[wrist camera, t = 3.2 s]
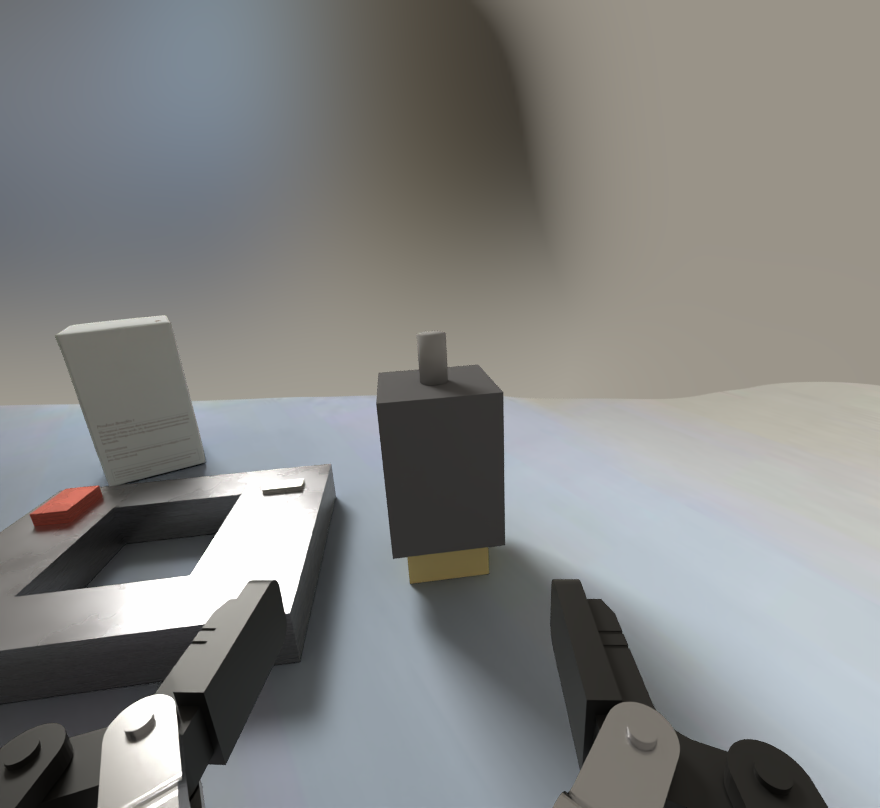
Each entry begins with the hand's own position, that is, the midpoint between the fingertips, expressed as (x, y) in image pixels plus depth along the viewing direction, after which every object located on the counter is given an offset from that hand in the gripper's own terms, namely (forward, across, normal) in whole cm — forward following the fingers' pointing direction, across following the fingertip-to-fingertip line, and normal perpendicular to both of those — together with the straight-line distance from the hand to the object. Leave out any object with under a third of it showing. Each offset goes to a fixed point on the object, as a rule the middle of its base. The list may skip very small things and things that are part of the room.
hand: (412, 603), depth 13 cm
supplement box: (+24, +27, +7) cm, 37 cm away
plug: (+11, 0, +6) cm, 13 cm away
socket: (+9, +16, +6) cm, 19 cm away
